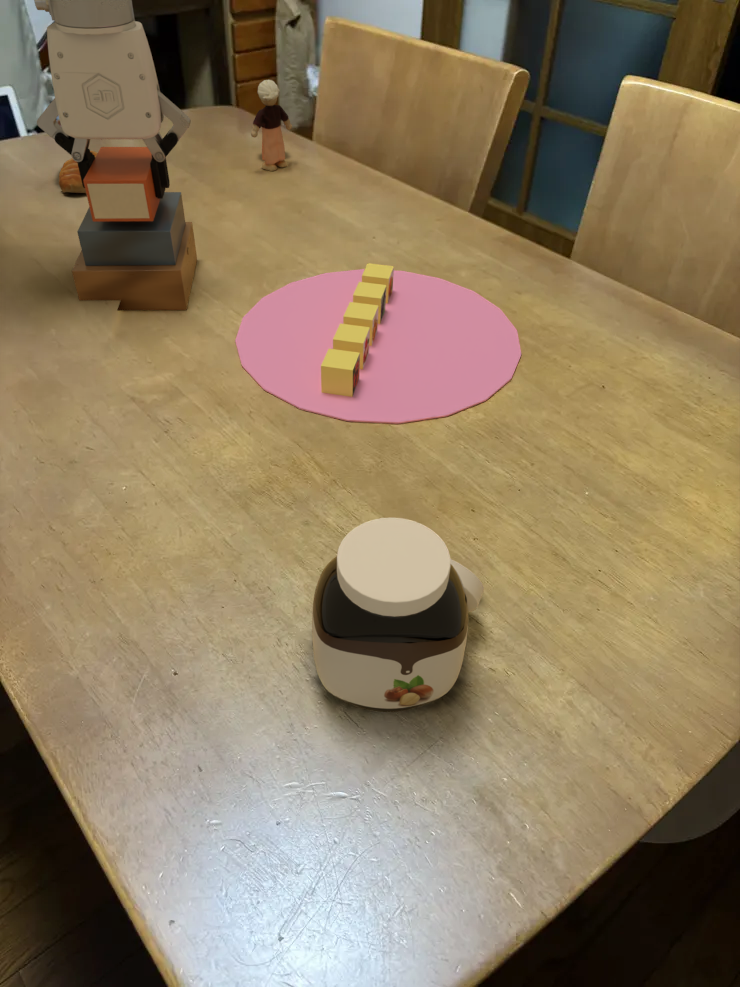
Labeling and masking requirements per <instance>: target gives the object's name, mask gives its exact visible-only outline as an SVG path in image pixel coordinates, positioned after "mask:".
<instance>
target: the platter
mask: <svg viewBox="0 0 740 987" xmlns="http://www.w3.org/2000/svg"><path fill="white" fill-rule="evenodd" d="M234 341H235V342H234V343H235V345H236V350H237V353H238V357H239V361H240V365H241V367H242V369H243V370H244V371H245V372H246V373H247V374H248V375H249V376H250V377H251V378H252V379H253V380H254V381H255V383H256V384H258V385H259V387H260V388H262V389H263V391H265V392H267V393H269V394H271V395H272V396H274V397H276V398H278V399H280V400H281V401H284V402H286V403H287V404H290V406H293V407H295V408H296V409H299V410H301V411H305V412H309V413H313V414H316V415H321V416H324V417H329V418H333V419H337V420H341V421H345V422H356V423H373V424H374V423H377V424H396V425H399V424H400V425H401V424H407V423H412V422H419V421H420V422H421V421H426V420H431V419H432V420H433V419H438V418H440V419H441V418H445V417H446V418H447V417H449V416H451V415H454V414H457V413H459V412H461V411H465V410H466V409H469V408H472V407H474V406H477V405H479V404H481V403H484V402H486V401H487V400H489V399H490V398H491V397H493V395H494V394H496V393H497V392H498V391H499V390H501V389H502V388H503V387H504V386H506V385H507V383H509V382H510V381H511V380H512V378H513V376H514V374H515V372H516V369H517V367H518V364H519V362H520V360H521V357H522V351H521V343H520V338H519V332H518V329H517V328H516V327H515V325H514V324H513V323H512V322H511V320H510V319H509V318H508V317H507V315H506V314H505V313H504V311H503V310H502V309H501V308H500V307H499V306H497V305H495V304H494V303H493V302H491V301H489V300H488V299H486V297H483V296H482V295H481V294H479V293H477V292H476V291H475V290H472V289H470V288H467V287H464V286H462V285H459V284H457V283H454V282H451V281H449V280H446V279H444V278H441V277H437V276H432V275H426V274H422V273H416V272H411V271H406V270H395V265H386V264H378V263H370V262H367V263H366V266H365V268H361V269H360V268H359V269H351V270H341V271H332V272H324V273H321V274H317V275H313V276H310V277H306V278H303V279H298V280H295V281H291V282H290V283H287V284H286V285H284V286H282V287H280V288H278V289H276V290H274V291H273V292H270V293H268V294H267V295H265V296H263V297H261V298H260V299H259V300H258V301H257V302H256V303H255V305H253V306H252V307H251V308H250V310H248V311H247V312H246V314H244V315H243V316H242V319H241V322H240V325H239V327H238V331H237V334H236V337H235V340H234Z"/></svg>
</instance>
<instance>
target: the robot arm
mask: <svg viewBox="0 0 740 987" xmlns="http://www.w3.org/2000/svg"><path fill="white" fill-rule="evenodd" d="M33 1H34V6H35V8H36V10H37V11H45V12H46V13H48V14H49V15H50V17H51V21H54V22H52V23H51V24H50V25H48V26H47V27H46V35H47V36H46V37H47V52H48V61H49V68H50V75H51V81H52V88H53V93H54V98H53V99H52V100H51V102H50V103H49V105H48V106H46V108H45V109H44V110H43V112H42V113H41V114H40V116H39V117H38V118H37V120H36V125H37V126H38V128H40V129H41V130H42V131H43V133H46V135H48V136H49V137H50V138H52V139H53V141H54V142H55V143H56V144H57V146H59V147H60V148H61V149H62V150H64V151H65V152H67V154H69V155H70V156H71V158H73V160H74V161H76V162H77V163H78V168H79V172H80V176H81V181H82V185H83V188H85V186H84V181H83V180H84V178H85V176H86V174H87V172H88V170H89V169H90V167H91V165H92V163H93V161H94V159H95V155H93V153H92V152H90V151H91V149H90V144H91V140H142V141H143V143H144V144H145V147H148V149H149V151H150V152H151V154H152V160H151V162H150V167H151V172H152V178H153V183H154V189H155V195H156V197H157V198H158V199H163V196H164V193H165V192H166V189H170V176H169V169H168V162H167V156H169V155H170V153H171V151H172V150H173V149H174V148H175V147H176V146H177V144H178V142H179V141H180V139H181V138H182V137H183V136H184V134H185V133H186V132H187V130H188V129H189V128H190V126H191V118H190V116H189V115H187V113H185V112H184V111H183V110H181V109H180V108H179V107H178V106H177V105H176V104H175V103H173V101H171V100H170V99H169V97H167V96H165V95H164V94H163V93H162V92H161V90H160V84H159V80H158V76H157V72H156V67H155V62H154V60H153V56H152V51H151V48H150V45H149V41H148V37H147V36H146V32H145V29H144V26H143V23H141V22H140V21H136V19H135V13H134V7H133V0H33ZM164 116H165V118H167V119H168V120H169V121H171V123H172V124H173V125H172V126H171V128H170V129H169V130H168V132H167V133H166V134H165V135H164V136H162V134H161V133H160V131H161V127H162V123H163V122H164ZM57 118H58V120H59V123H60V124H59V123H58V121H57Z"/></svg>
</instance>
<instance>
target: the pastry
mask: <svg viewBox="0 0 740 987" xmlns="http://www.w3.org/2000/svg"><path fill="white" fill-rule="evenodd" d="M90 152H92V153H93V155H95V157H96V155H97V154H98V152H97V151H94V150H90ZM58 174H59V175H58V185H59V187H60V190H61V191H62V193H76V194H86V190H85V188H83V185H82V181H81V176H80V172H79V168H78V163H77V162H76V161H74V160H73V158H72V157H71V158H70V159H68V160H66V161H65V162H64V163H63V164H62V166H61V168H60V171H59V173H58Z"/></svg>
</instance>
